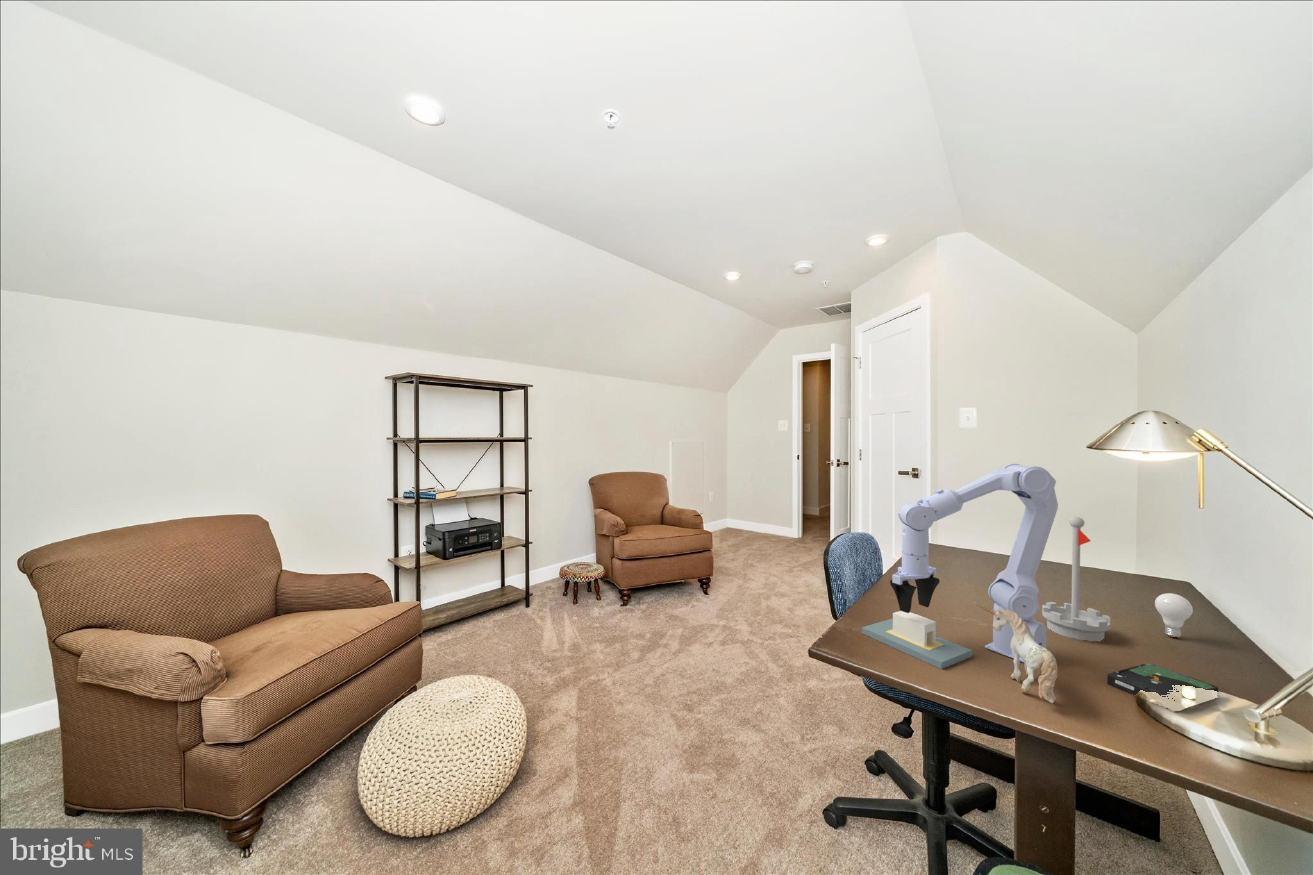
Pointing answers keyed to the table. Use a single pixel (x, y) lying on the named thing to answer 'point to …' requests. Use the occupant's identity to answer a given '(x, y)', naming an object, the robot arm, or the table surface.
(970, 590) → the table surface
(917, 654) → the pin board
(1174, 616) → the lightbulb
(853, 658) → the table surface
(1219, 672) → the table surface
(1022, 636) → the unicorn figurine
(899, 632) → the channel block
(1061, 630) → the flag stand
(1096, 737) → the table surface
